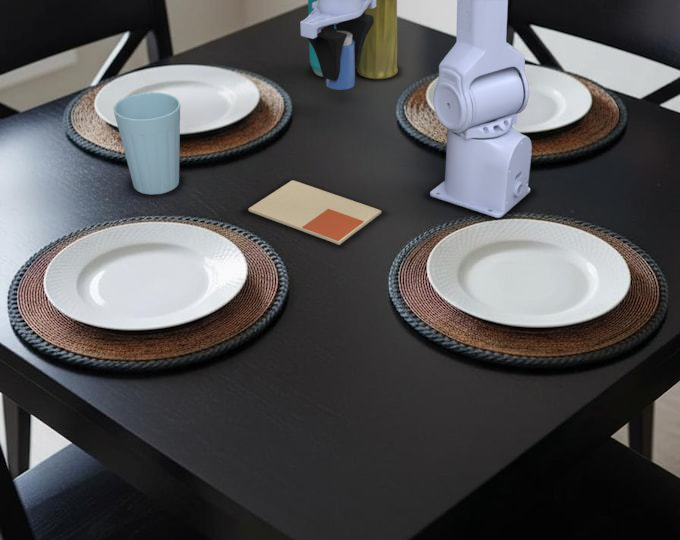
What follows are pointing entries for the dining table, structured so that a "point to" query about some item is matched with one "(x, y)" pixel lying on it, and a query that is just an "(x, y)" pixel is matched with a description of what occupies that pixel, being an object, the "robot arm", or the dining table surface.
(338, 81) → the salt shaker
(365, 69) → the vase
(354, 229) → the place mat
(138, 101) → the cup
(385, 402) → the dining table surface
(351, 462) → the dining table surface
